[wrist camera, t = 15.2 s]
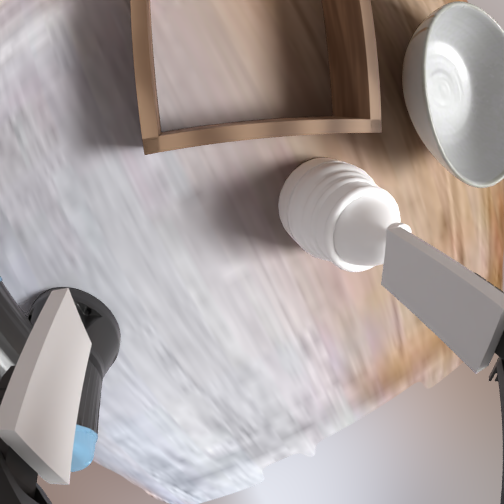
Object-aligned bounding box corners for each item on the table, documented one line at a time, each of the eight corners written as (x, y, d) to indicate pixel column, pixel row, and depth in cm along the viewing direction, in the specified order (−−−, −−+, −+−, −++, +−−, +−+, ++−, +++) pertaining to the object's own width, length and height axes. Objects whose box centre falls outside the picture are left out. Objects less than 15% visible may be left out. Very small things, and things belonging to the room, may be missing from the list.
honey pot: (267, 172, 40) (334, 213, 24) (353, 147, 41) (446, 174, 26) (289, 257, 46) (349, 333, 30) (365, 229, 47) (444, 284, 31)
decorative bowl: (364, -9, 32) (418, -31, 21) (477, 44, 38) (526, 44, 27) (358, 162, 43) (414, 181, 32) (469, 175, 49) (518, 194, 38)
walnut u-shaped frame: (150, 146, 35) (144, 155, 27) (137, -14, 26) (130, -45, 18) (342, 126, 40) (381, 132, 32) (329, -16, 31) (363, -37, 23)
